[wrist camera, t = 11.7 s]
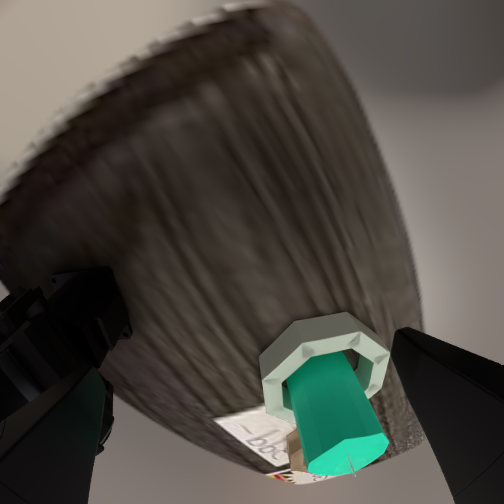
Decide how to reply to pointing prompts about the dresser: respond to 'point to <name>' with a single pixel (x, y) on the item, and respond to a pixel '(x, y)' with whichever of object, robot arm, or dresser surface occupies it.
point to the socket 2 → (317, 343)
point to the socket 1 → (295, 452)
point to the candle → (334, 416)
